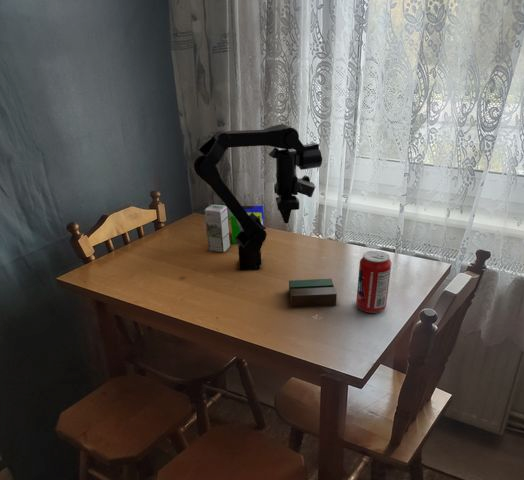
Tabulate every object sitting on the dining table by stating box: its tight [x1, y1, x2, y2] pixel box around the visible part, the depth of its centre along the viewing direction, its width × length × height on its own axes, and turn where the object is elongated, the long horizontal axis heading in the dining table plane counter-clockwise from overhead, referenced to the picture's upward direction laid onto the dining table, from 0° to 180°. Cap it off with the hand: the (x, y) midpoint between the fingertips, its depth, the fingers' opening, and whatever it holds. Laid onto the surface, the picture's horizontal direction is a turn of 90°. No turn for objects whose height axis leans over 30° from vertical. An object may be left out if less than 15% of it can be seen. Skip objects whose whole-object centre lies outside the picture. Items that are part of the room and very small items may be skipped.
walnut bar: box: [289, 286, 337, 308], centre depth 133 cm, size 12×4×4 cm, turn 92°
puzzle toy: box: [230, 205, 265, 245], centre depth 170 cm, size 10×10×10 cm
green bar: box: [288, 278, 335, 295], centre depth 137 cm, size 12×4×4 cm, turn 92°
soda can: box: [355, 250, 392, 314], centre depth 127 cm, size 8×8×15 cm
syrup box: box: [204, 204, 231, 253], centre depth 162 cm, size 6×6×14 cm
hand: (286, 222), depth 152 cm, fingers closed
